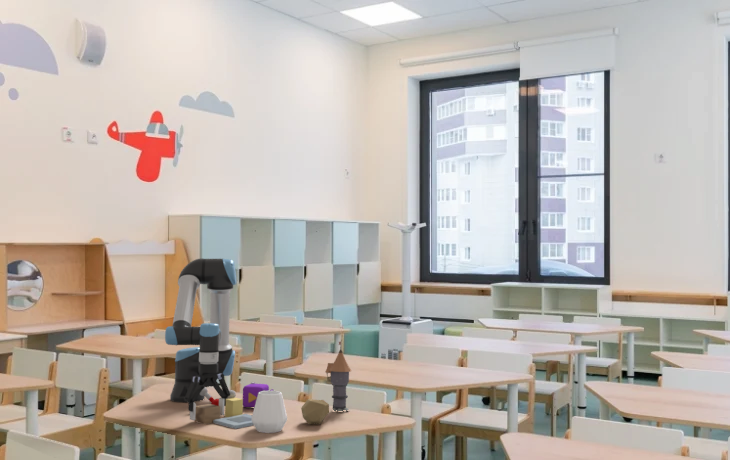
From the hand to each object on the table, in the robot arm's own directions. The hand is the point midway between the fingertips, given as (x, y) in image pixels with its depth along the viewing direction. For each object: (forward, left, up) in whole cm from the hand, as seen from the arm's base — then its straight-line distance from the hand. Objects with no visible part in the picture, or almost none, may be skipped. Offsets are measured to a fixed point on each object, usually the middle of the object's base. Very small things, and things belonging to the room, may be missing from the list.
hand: (207, 417), depth 277 cm
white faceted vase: (+28, +8, -2) cm, 29 cm away
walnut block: (0, 0, -2) cm, 2 cm away
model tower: (+22, +52, -2) cm, 56 cm away
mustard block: (0, +13, -2) cm, 13 cm away
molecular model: (-11, +13, -2) cm, 17 cm away
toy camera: (-8, +33, -2) cm, 34 cm away
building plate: (+11, +8, -2) cm, 14 cm away
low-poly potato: (+32, +29, -2) cm, 43 cm away
